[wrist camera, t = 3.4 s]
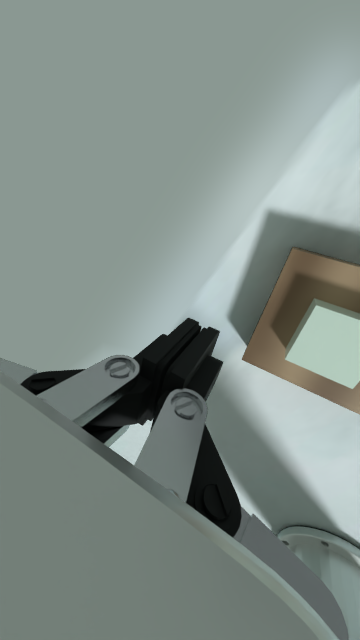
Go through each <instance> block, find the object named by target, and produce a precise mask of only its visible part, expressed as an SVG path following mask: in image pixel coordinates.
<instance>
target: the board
mask: <svg viewBox="0 0 360 640" xmlns="http://www.w3.org/2000/svg"><path fill="white" fill-rule="evenodd" d="M314 298H315V299H318V300H321V301H324V302H327V303H330V304H333V305H336V306H339V307H342V308H345V309H348V310H351V311H354V312H357V313H360V265H358V264H354V263H351V262H347V261H343V260H340V259H336V258H333V257H329V256H325V255H322V254H318V253H315V252H311V251H307V250H304V249H300V248H297V247H292V249H291V251H290V254H289V256H288V258H287V260H286V262H285V265H284V267H283V269H282V271H281V273H280V276H279V278H278V280H277V282H276V284H275V286H274V289H273V291H272V293H271V295H270V297H269V300H268V302H267V304H266V306H265V308H264V311H263V313H262V315H261V317H260V319H259V322H258V324H257V326H256V328H255V330H254V332H253V335H252V337H251V339H250V341H249V343H248V346H247V348H246V350H245V353H244V355H243V358H242V360H244V361H246V362H248V363H250V364H252V365H254V366H257V367H259V368H261V369H263V370H265V371H267V372H269V373H272V374H274V375H276V376H278V377H280V378H282V379H285V380H287V381H289V382H291V383H293V384H295V385H297V386H300V387H302V388H304V389H306V390H308V391H310V392H312V393H315V394H317V395H319V396H321V397H323V398H325V399H328V400H330V401H332V402H334V403H336V404H338V405H340V406H343V407H345V408H347V409H349V410H351V411H353V412H356V413H358V414H360V381H359V382H358V384H357V385H356V386H355V387H354V388H353V389H351V388H349V387H347V386H344V385H342V384H340V383H337V382H335V381H333V380H331V379H328V378H326V377H324V376H321V375H319V374H317V373H314V372H312V371H310V370H308V369H305V368H303V367H301V366H298V365H296V364H294V363H292V362H289V361H287V360H285V350H286V347H287V345H288V343H289V342H290V340H291V338H292V336H293V335H294V333H295V331H296V329H297V327H298V326H299V324H300V322H301V320H302V319H303V317H304V315H305V313H306V312H307V310H308V308H309V306H310V304H311V303H312V301H313V299H314Z"/></svg>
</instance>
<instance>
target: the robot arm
mask: <svg viewBox="0 0 360 640" xmlns="http://www.w3.org/2000/svg"><path fill="white" fill-rule="evenodd" d="M200 331H201V332H200ZM219 333H220V331H218V330H216V329H214V328H211V327H208V328H207V329H206V328H203V329H202V330H201V326H199V322H197V321H195V320H193V319H190V318H187V319H186V320H185V321H184V322H183V323H182V324H180V325H179V326H178V327H177V328H176V329H175V330H174V331H172V332H171V333H170V334H169V335H168V336H167V335H165V334H162V335H161V336H159V337H158V338H157V339H156V340H155V341H153V342H152V343H151V344H150V345H149V346H147V347H146V348H145V349H144V350H142V351H141V352H140V353H139V354H138V355H136V356H135V357H134V358H131V357H129V356H125V355H115V356H111V357H108V358H106V359H104V360H102V361H101V362H99V363H97V364H95V365H93V366H91V367H89V368H87V369H81V370H64V371H48V372H41V373H37V370H34V369H31V368H28V367H25V366H22V365H19V364H16V363H13V362H10V361H7V360H5V359H2V358H0V640H360V549H358V548H357V547H355V546H354V545H352V544H351V543H349V542H347V541H345V540H343V539H341V538H339V537H337V536H335V535H332V534H330V533H328V532H325V531H321V530H318V529H314V528H309V527H299V526H296V527H289V528H286V529H283V530H282V531H281V532H279V534H278V536H276V535H275V534H274V533H273V532H272V531H271V530H270V529H269V528H267V527H266V526H265V525H264V524H263V523H262V522H261V521H260V520H259V519H258V518H257V517H256V516H255V515H254V514H252V515H251V516H250V515H249V514H248V513H247V512H246V511H245V510H244V509H243V508H242V507H241V505H240V502H239V499H238V496H237V494H236V491H235V489H234V487H233V485H232V482H231V480H230V478H229V476H228V474H227V471H226V469H225V467H224V465H223V462H222V460H221V458H220V456H219V453H218V451H217V449H216V447H215V445H214V442H213V440H212V438H211V436H210V433H209V431H208V429H207V427H206V425H205V421H206V417H207V409H208V408H207V404H206V400H207V398H208V396H209V394H210V392H211V390H212V388H213V386H214V384H215V381H216V379H217V377H218V374H219V372H220V369H221V367H222V364H223V362H222V361H220V360H218V359H216V358H214V357H212V356H211V355H212V352H213V349H214V347H215V344H216V341H217V338H218V336H219ZM153 418H154V419H153ZM147 419H148V420H150V421H151V420H152V419H153V423H152V427H151V431H150V434H149V436H148V438H147V440H146V442H145V444H144V446H143V448H142V451H141V453H140V455H139V457H138V459H137V461H136V463H135V465H132V464H131V463H130V462H128V461H127V460H126V459H124V458H123V457H121V456H120V455H119V454H117V453H116V452H114V451H113V450H112V449H110V448H109V447H110V446H111V445H112V444H113V443H114V442H115V441H116V440H117V439H118V438H119V437H120V436H122V435H123V434H124V433H125V432H126V431H127V429H128V428H129V426H130V425H132V424H137V423H139V424H141V425H142V426H143V425H144V423H145V422H146V421H147Z"/></svg>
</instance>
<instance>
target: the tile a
mask: <svg viewBox="0 0 360 640" xmlns="http://www.w3.org/2000/svg"><path fill="white" fill-rule="evenodd" d="M285 360H287V361H289V362H292V363H294V364H296V365H298V366H301V367H303V368H305V369H308V370H310V371H312V372H314V373H317V374H319V375H321V376H324V377H326V378H328V379H331V380H333V381H335V382H337V383H340V384H342V385H344V386H347V387H349V388H351V389H353V388H354V387H355V386H356V385H357V384H358V382H359V381H360V313H357V312H354V311H351V310H348V309H345V308H342V307H339V306H336V305H333V304H330V303H327V302H324V301H321V300H318V299H315V298H314V299H313V301H312V303H311V304H310V306H309V308H308V310H307V312H306V313H305V315H304V317H303V319H302V320H301V322H300V324H299V326H298V327H297V329H296V331H295V333H294V335H293V336H292V338H291V340H290V342H289V343H288V345H287V347H286V350H285Z"/></svg>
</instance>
